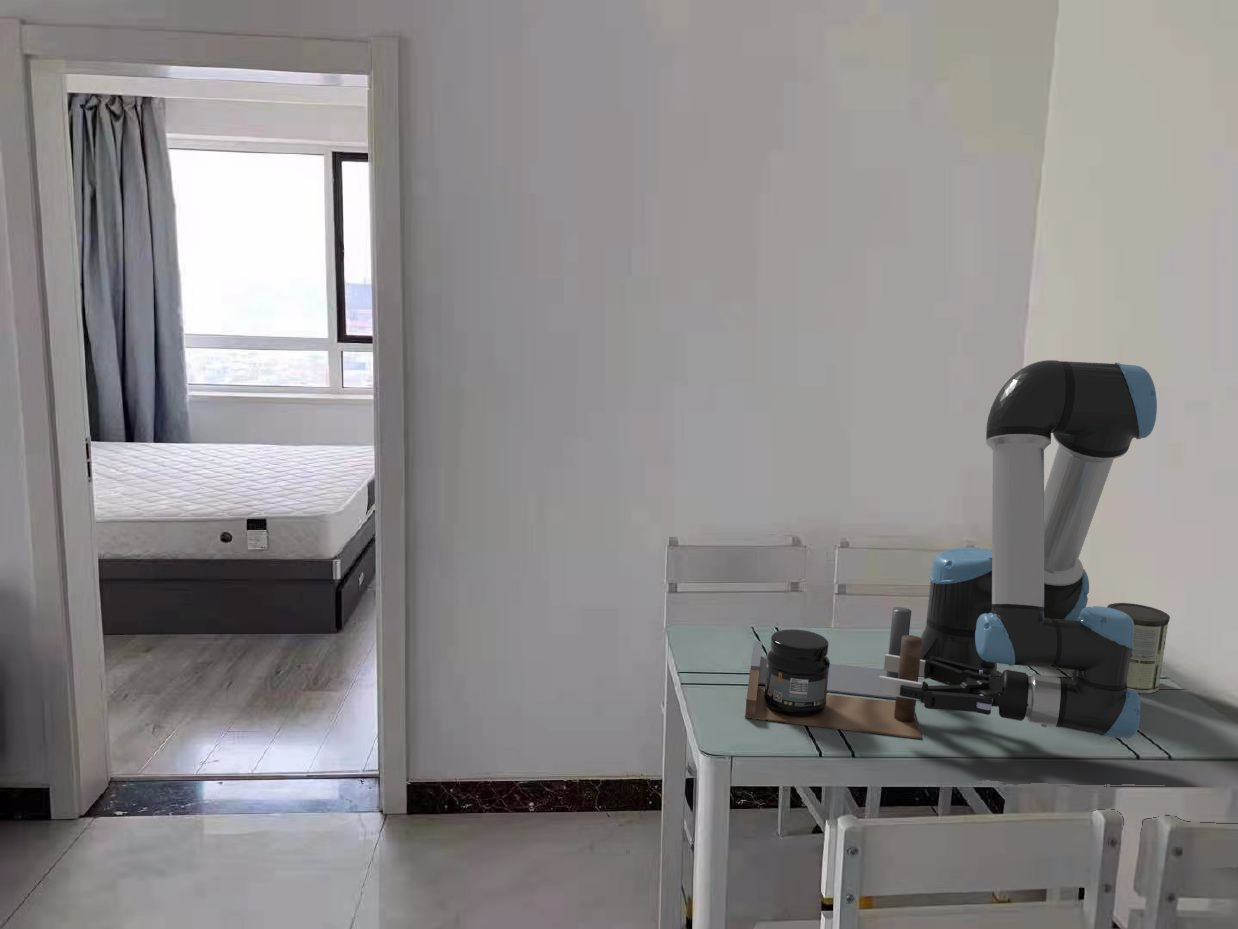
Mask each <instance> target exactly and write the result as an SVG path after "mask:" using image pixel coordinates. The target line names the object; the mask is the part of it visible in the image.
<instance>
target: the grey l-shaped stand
mask: <svg viewBox="0 0 1238 929" xmlns="http://www.w3.org/2000/svg"><path fill="white" fill-rule="evenodd" d="M911 617H912V609H910V608H907V607H904V606H903V607H902V606H900V607H899V606H896V607H893V608H892V614H891V626H890V635H889V643H888V644H889V645H888V646H889V647H888V654H889V655H896V656H900V651H901V641H902V636H904V635H910V630H911V629H910V628H911V620H912V619H911ZM762 649H763V641H760V640H753V645H752V653H751V661H750V670H757V671H759V682H758V685H765V683H766V669H767V656H764V655H763V656H762ZM750 670H749V671H750ZM880 676H886V677H891V678H897V679H898V673H897V672H891V671H885V670H884V668H874V667H866V666H865V667H864V666H856V665H847V664H837V663H830V667H829V673H828V685H827V693H838V694H846V695H856V696H864V697H872V698H873V697H874V698H881V699H892V700H896V696H892V695H886V694H880V693H878V686H879V677H880Z"/></svg>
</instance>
